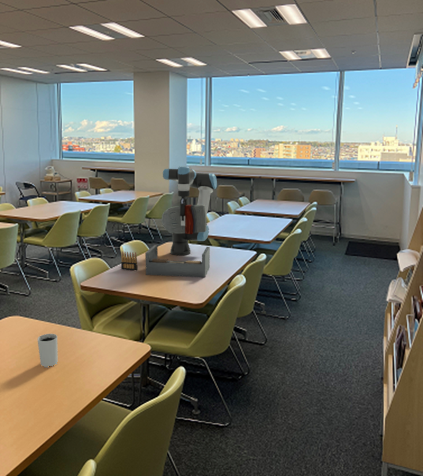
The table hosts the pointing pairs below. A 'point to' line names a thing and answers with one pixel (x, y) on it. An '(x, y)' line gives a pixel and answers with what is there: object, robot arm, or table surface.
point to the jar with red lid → (193, 219)
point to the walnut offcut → (160, 260)
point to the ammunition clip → (129, 261)
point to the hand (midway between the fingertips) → (183, 224)
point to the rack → (176, 265)
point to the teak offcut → (194, 262)
